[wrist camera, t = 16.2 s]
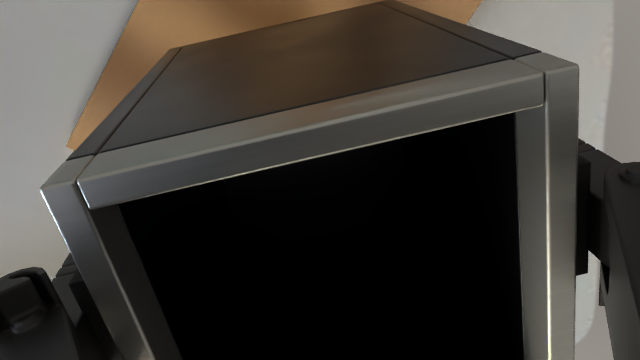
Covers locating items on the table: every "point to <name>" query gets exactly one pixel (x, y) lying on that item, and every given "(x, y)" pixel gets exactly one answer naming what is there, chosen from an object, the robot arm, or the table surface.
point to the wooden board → (207, 37)
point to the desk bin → (334, 196)
